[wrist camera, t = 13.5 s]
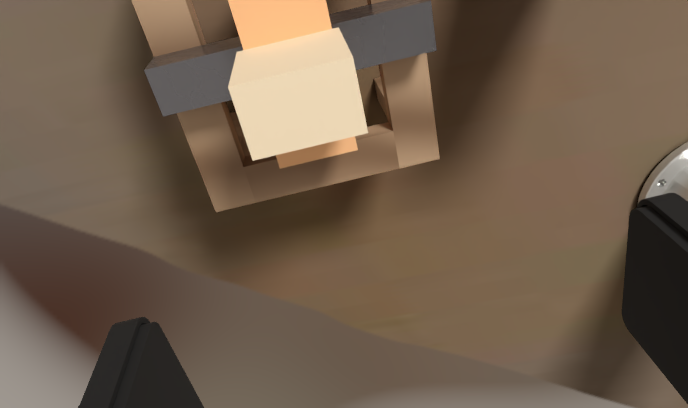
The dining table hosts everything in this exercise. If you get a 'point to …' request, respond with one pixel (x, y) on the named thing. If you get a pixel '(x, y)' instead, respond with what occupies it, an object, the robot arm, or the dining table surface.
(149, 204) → the dining table surface
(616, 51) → the dining table surface
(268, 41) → the orange cream legged block
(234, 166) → the shelf
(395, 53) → the long charcoal crossbeam
